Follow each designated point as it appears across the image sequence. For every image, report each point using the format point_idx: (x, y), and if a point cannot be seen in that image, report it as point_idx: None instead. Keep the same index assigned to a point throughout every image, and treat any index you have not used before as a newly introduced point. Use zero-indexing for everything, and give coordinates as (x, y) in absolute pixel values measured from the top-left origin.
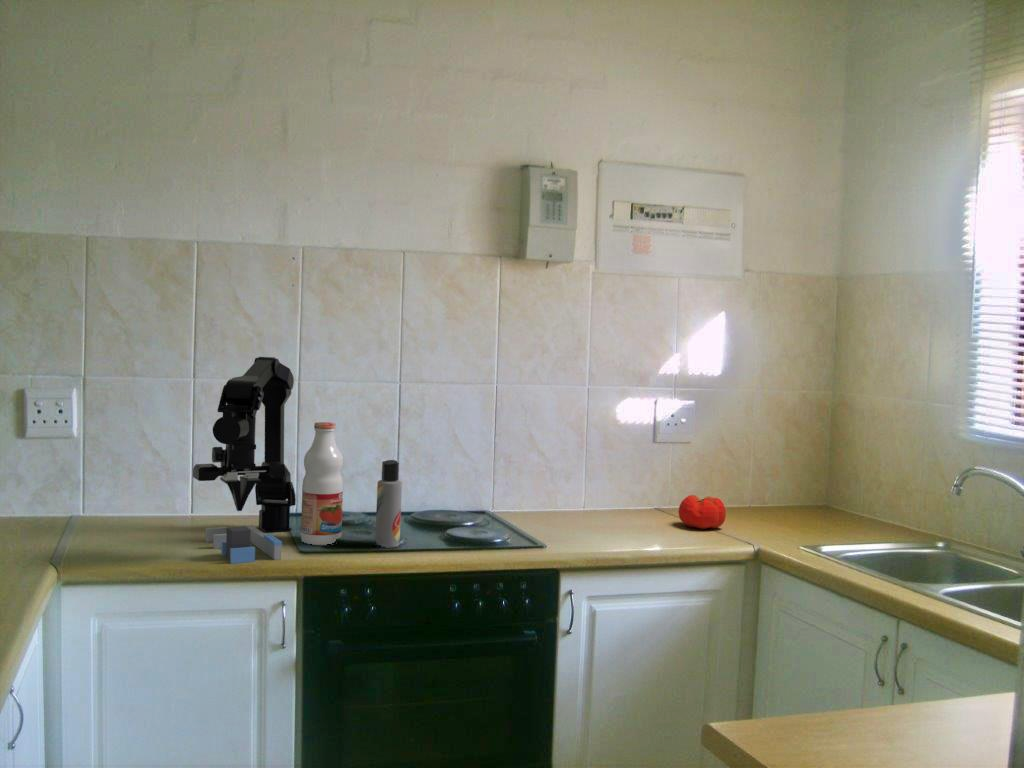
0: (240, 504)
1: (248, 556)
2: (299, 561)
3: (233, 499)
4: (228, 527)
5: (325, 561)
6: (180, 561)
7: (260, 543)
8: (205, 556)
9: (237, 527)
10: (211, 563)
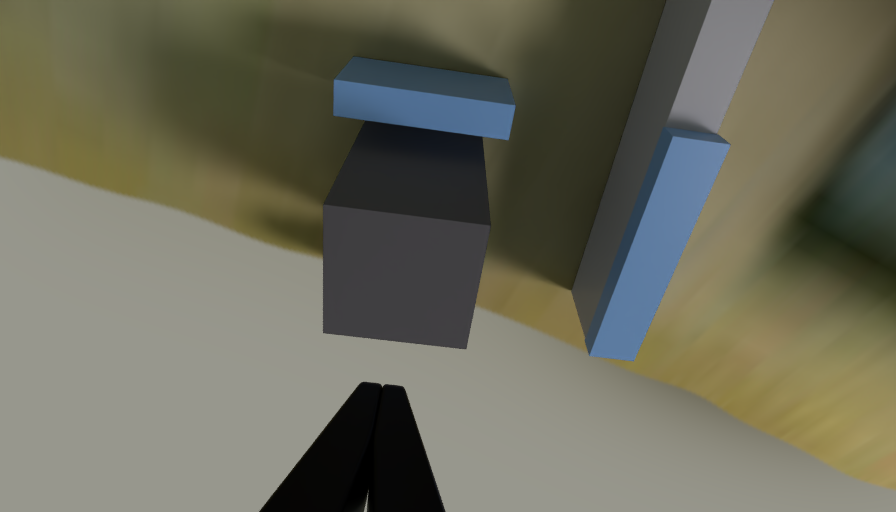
0: (362, 506)
1: None
2: (651, 359)
3: (290, 478)
4: (336, 213)
5: (742, 401)
6: (80, 93)
7: (672, 34)
8: (247, 41)
9: (407, 245)
10: (251, 215)
